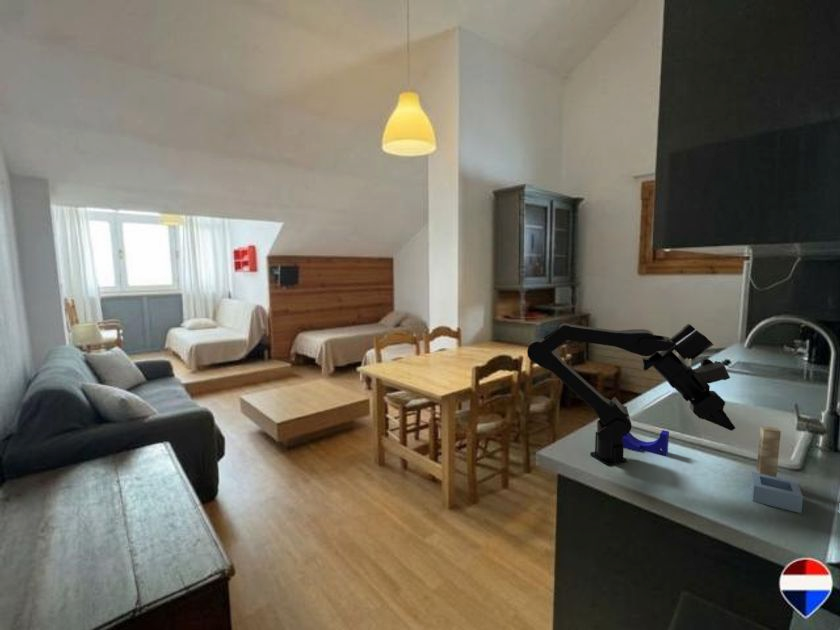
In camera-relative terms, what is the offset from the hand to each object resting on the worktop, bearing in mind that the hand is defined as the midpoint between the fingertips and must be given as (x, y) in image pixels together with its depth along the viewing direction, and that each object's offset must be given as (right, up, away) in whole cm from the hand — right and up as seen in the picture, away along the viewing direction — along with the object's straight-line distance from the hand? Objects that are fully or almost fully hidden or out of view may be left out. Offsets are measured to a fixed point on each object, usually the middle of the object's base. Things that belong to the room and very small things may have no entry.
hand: (727, 421), depth 94 cm
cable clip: (-11, -12, +16) cm, 23 cm away
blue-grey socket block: (+4, -15, -8) cm, 17 cm away
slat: (+8, -14, -1) cm, 16 cm away
